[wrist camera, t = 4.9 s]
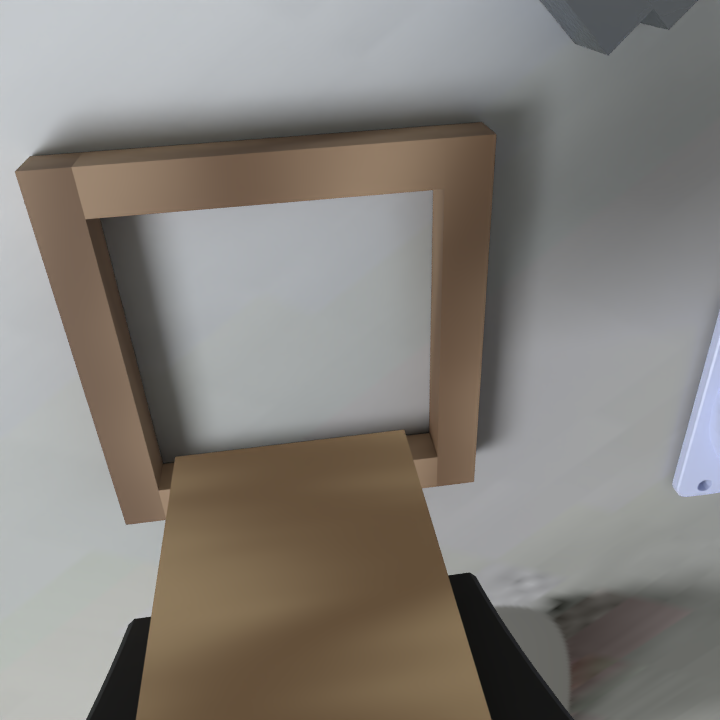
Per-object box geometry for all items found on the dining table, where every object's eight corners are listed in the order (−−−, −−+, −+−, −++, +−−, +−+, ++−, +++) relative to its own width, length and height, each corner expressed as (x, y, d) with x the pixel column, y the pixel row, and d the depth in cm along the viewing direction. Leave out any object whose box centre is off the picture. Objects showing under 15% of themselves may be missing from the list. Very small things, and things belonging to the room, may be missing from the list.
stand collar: (481, 122, 17) (496, 134, 16) (464, 457, 23) (473, 481, 22) (29, 156, 16) (14, 171, 15) (131, 496, 22) (126, 524, 21)
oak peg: (404, 429, 12) (546, 901, 6) (406, 580, 14) (513, 1037, 8) (175, 457, 12) (96, 982, 6) (213, 607, 14) (183, 1102, 8)
